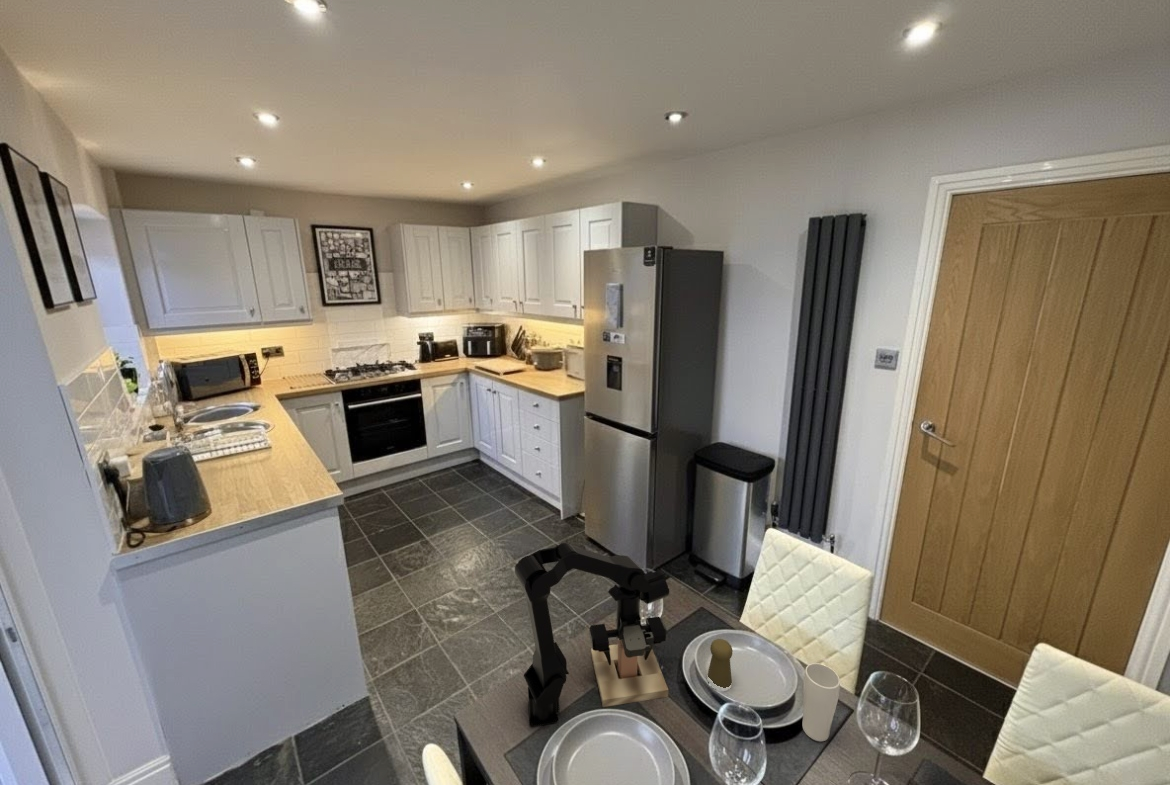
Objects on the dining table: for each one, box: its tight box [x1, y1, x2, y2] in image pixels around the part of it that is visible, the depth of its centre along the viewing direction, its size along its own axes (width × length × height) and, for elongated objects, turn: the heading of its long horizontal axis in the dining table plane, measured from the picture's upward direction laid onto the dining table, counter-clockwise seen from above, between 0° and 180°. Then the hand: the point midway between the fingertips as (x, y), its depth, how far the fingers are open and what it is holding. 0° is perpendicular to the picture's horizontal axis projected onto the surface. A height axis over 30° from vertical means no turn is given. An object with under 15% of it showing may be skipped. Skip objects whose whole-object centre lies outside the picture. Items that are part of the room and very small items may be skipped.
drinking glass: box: [802, 662, 841, 742], centre depth 100 cm, size 7×7×15 cm
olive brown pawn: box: [707, 638, 733, 688], centre depth 113 cm, size 6×6×11 cm
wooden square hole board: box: [590, 643, 669, 708], centre depth 117 cm, size 16×16×2 cm
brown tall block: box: [617, 639, 638, 679], centre depth 116 cm, size 4×4×10 cm
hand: (627, 661), depth 116 cm, fingers open, 9 cm apart
